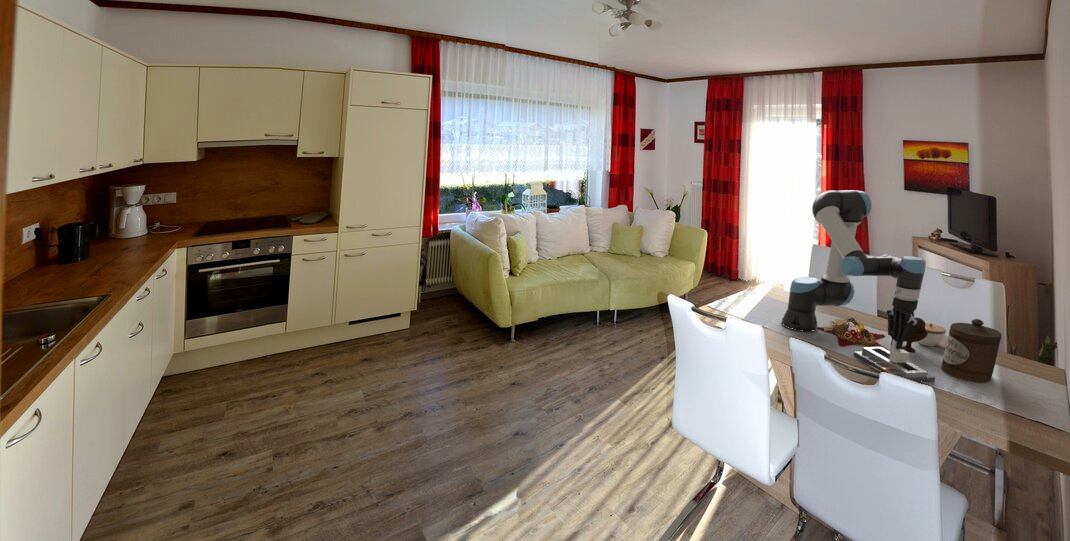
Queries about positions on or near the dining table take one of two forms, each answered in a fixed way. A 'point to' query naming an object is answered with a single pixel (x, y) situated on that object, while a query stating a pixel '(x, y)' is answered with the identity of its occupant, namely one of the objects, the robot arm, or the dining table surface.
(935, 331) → the lidded jar
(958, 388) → the dining table surface
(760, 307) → the dining table surface
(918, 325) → the ice cream bowl
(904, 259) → the robot arm
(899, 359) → the fader knob
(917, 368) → the fader console
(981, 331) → the wooden container
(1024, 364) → the dining table surface
